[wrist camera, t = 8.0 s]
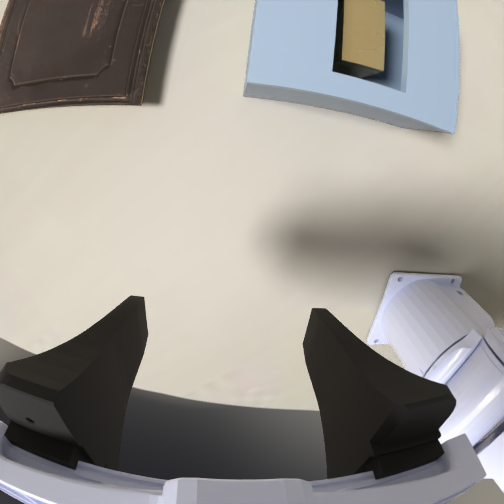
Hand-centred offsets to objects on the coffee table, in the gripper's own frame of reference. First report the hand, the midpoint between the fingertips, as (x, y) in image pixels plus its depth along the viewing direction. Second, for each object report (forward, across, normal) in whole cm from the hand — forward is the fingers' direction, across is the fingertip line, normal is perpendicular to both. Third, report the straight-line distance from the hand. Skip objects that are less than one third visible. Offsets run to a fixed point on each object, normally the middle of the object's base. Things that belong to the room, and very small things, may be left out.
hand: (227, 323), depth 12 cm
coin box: (+10, -6, -15) cm, 19 cm away
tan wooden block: (+10, -6, -15) cm, 19 cm away
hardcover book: (+11, +14, -21) cm, 28 cm away
